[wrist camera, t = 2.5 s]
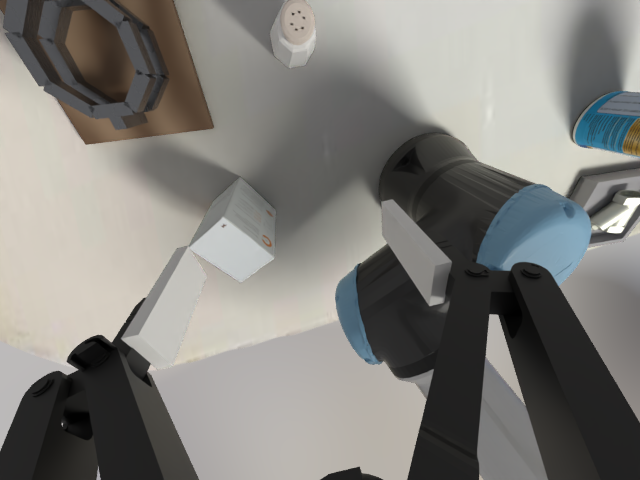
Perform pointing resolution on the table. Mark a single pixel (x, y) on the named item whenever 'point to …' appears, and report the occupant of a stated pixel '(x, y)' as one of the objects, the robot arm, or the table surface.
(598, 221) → the pipe fitting
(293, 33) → the pepper shaker
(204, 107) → the collar base
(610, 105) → the beverage bottle
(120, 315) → the table surface
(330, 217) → the table surface
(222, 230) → the small box
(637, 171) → the parts tray
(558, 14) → the table surface
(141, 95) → the collar frame
